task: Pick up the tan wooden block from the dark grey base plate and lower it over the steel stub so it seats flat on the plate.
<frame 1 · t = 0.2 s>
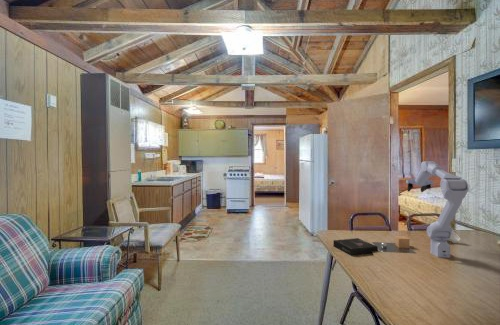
hand: (414, 190, 179), 31 cm above the table, tool tilted 45°, fingers open, 7 cm apart
tan wooden block: (402, 246, 165), point 1 cm above the table, touching base plate
base plate: (392, 249, 163), on the table
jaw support: (443, 242, 177), on the table
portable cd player: (355, 250, 162), on the table
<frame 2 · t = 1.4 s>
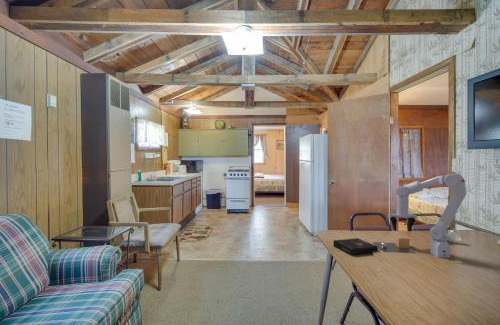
hand: (401, 230, 165), 10 cm above the table, tool pointing down, fingers open, 7 cm apart
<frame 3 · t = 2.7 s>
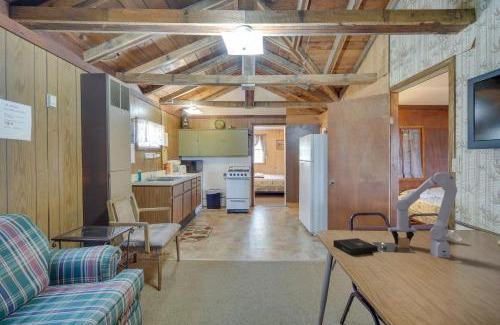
hand: (402, 244, 165), 2 cm above the table, tool pointing down, fingers closed on tan wooden block, 6 cm apart
tan wooden block: (402, 246, 165), point 1 cm above the table, touching base plate, gripper
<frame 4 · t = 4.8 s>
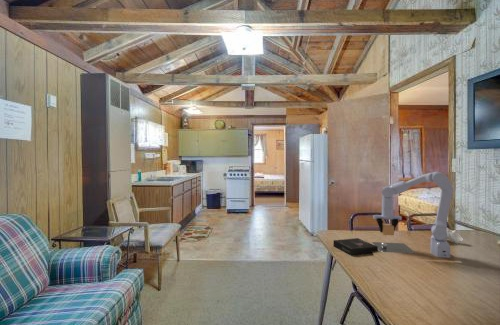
hand: (386, 232, 163), 10 cm above the table, tool pointing down, fingers closed on tan wooden block, 6 cm apart
tan wooden block: (386, 233, 163), point 9 cm above the table, touching gripper
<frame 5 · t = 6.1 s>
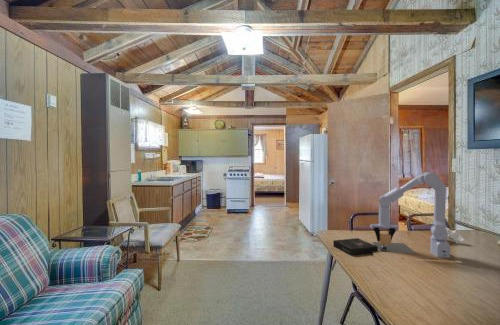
hand: (384, 241, 162), 4 cm above the table, tool pointing down, fingers closed on tan wooden block, 6 cm apart
tan wooden block: (384, 242, 162), point 4 cm above the table, touching gripper
when the fingers open (3 cm above the table, at t = 7.1 s): tan wooden block drops 1 cm, resting on base plate.
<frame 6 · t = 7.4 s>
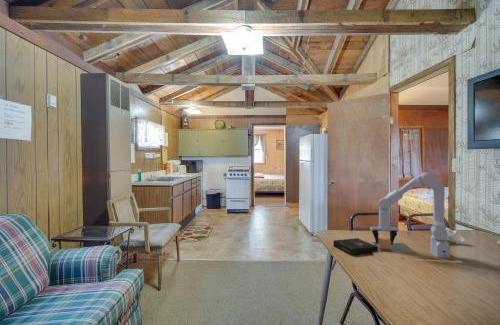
hand: (384, 243, 162), 3 cm above the table, tool pointing down, fingers open, 7 cm apart
tan wooden block: (384, 247, 162), point 1 cm above the table, touching base plate
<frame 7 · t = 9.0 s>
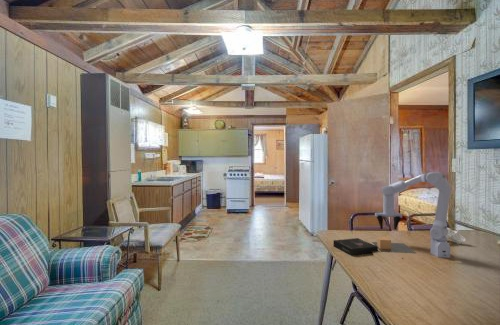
hand: (388, 229, 170), 9 cm above the table, tool pointing down, fingers open, 7 cm apart
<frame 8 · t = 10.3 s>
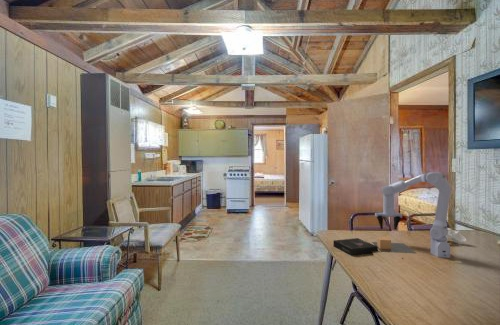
hand: (388, 228, 170), 9 cm above the table, tool pointing down, fingers open, 7 cm apart
at the end: tan wooden block 0.1 cm from the target spot on the base plate, point 1.0 cm above the base plate's base; tan wooden block tilted 0°; the gripper is holding nothing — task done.
